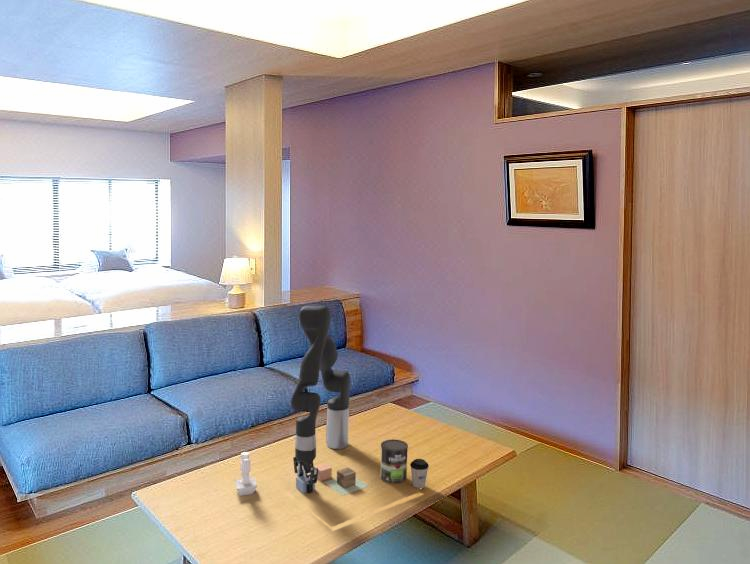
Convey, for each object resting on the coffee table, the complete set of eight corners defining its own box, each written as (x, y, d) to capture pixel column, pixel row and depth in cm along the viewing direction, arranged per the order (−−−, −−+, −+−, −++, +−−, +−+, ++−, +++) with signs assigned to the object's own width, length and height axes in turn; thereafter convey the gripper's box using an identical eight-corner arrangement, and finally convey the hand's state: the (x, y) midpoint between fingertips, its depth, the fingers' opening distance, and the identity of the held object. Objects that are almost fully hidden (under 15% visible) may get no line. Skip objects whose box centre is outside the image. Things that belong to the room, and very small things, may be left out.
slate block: (296, 490, 211) (296, 477, 210) (307, 486, 214) (307, 473, 213) (303, 496, 207) (303, 483, 206) (314, 492, 210) (315, 479, 209)
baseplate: (323, 484, 215) (323, 482, 215) (349, 475, 223) (349, 473, 223) (342, 498, 206) (342, 495, 206) (368, 488, 213) (368, 485, 213)
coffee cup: (405, 485, 216) (406, 460, 215) (418, 480, 220) (419, 455, 219) (418, 493, 211) (419, 467, 209) (431, 487, 215) (432, 462, 214)
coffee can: (410, 484, 217) (411, 449, 215) (384, 487, 215) (385, 451, 212) (402, 471, 227) (403, 438, 225) (376, 474, 224) (377, 440, 222)
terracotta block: (313, 478, 220) (313, 466, 220) (324, 475, 223) (324, 462, 223) (320, 483, 216) (320, 471, 216) (331, 480, 219) (331, 467, 219)
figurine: (253, 484, 215) (253, 446, 212) (257, 496, 206) (257, 457, 204) (233, 487, 212) (233, 449, 210) (237, 500, 203) (236, 460, 201)
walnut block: (336, 483, 215) (337, 470, 214) (347, 479, 218) (347, 467, 217) (344, 488, 211) (344, 475, 210) (355, 484, 214) (355, 472, 213)
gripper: (286, 441, 211) (286, 484, 214) (307, 455, 200) (306, 500, 203) (304, 436, 216) (304, 478, 218) (325, 449, 205) (324, 494, 207)
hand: (305, 489), depth 210 cm, fingers open, 5 cm apart
